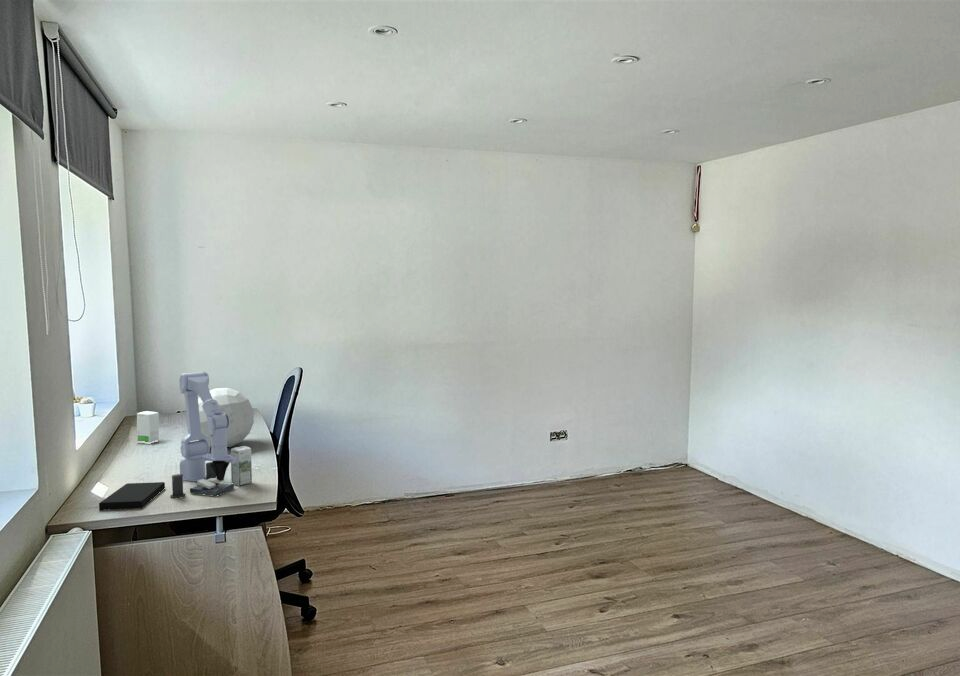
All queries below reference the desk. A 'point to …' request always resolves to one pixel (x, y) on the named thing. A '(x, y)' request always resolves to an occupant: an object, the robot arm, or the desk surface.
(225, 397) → the ball
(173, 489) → the post
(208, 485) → the grey paddle
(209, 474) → the far cord post
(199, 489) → the panel
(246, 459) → the syrup box
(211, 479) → the orange-tipped paddle
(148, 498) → the external hard drive
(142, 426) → the skincare box
